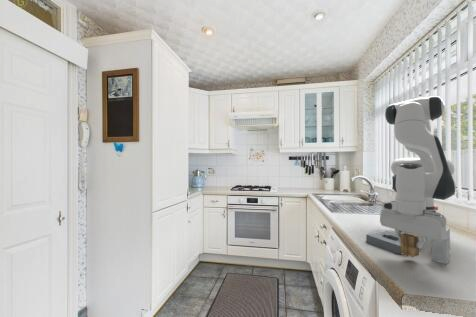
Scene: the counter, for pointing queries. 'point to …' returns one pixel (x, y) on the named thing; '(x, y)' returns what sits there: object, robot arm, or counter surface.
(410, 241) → the brown wooden block
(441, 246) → the skincare box
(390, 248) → the slate socket block
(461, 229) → the counter surface
